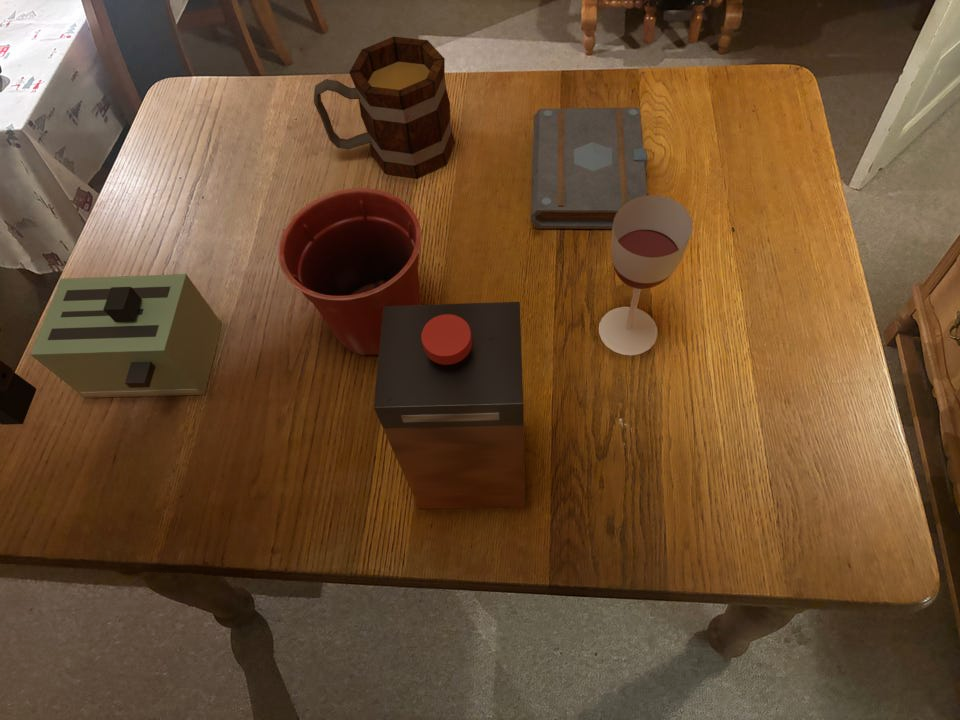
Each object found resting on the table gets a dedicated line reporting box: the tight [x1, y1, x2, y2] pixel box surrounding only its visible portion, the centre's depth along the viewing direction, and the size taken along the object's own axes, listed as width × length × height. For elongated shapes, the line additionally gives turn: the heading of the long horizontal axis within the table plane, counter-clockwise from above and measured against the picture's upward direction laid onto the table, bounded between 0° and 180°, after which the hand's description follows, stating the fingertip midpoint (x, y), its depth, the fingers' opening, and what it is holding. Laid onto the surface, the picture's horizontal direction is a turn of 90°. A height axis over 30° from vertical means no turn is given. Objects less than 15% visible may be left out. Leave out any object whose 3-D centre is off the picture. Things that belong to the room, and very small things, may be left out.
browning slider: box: [103, 287, 142, 322], centre depth 77 cm, size 2×3×3 cm
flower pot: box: [277, 187, 422, 356], centre depth 82 cm, size 16×16×16 cm
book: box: [530, 107, 648, 230], centre depth 98 cm, size 21×16×5 cm
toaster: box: [29, 273, 223, 399], centre depth 82 cm, size 16×14×11 cm
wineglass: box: [598, 194, 694, 356], centre depth 77 cm, size 8×9×20 cm
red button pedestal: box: [373, 301, 526, 510], centre depth 66 cm, size 12×10×26 cm
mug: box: [313, 36, 456, 180], centre depth 99 cm, size 20×14×15 cm
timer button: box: [421, 314, 472, 365], centre depth 53 cm, size 4×4×1 cm
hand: (19, 406), depth 45 cm, fingers closed
